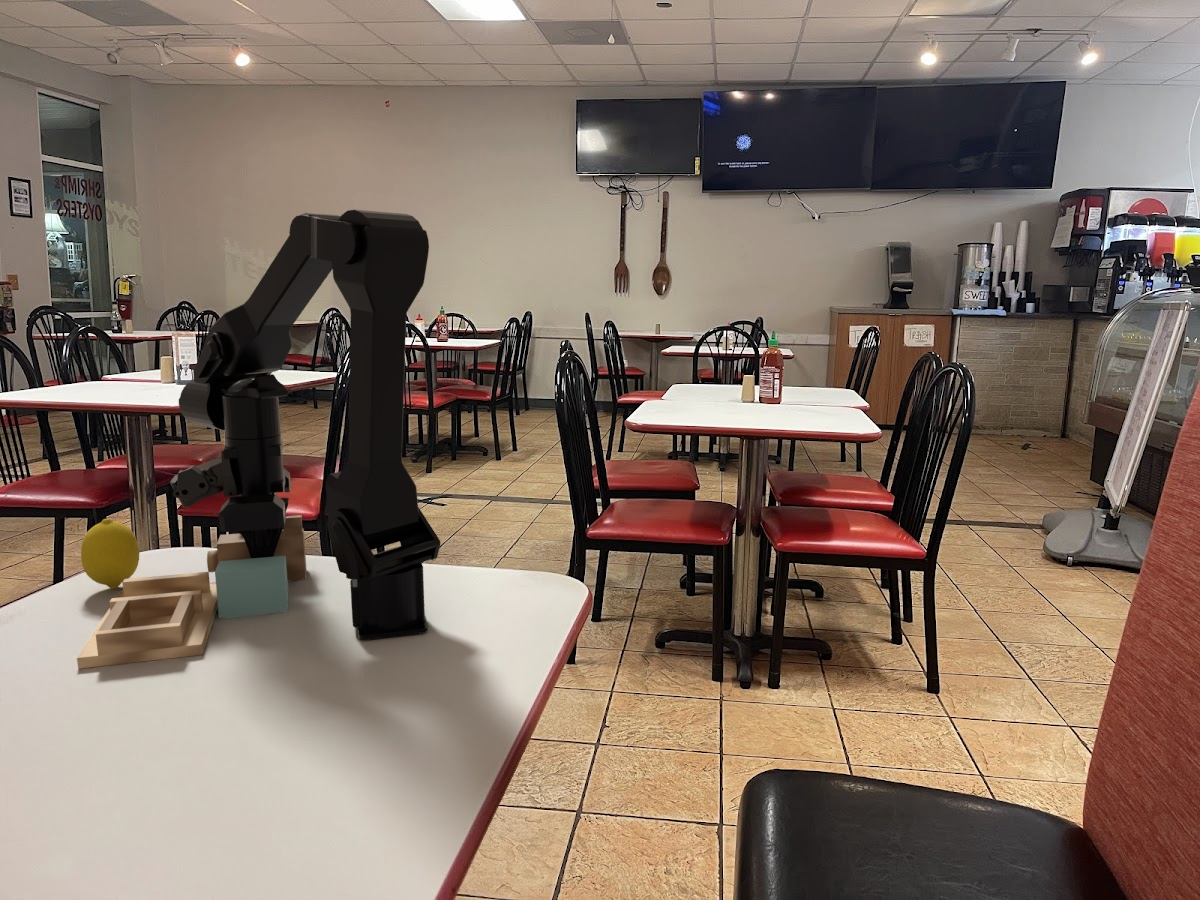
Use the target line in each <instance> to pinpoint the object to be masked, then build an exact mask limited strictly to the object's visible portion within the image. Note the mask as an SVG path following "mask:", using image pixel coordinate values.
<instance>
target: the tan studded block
mask: <svg viewBox="0 0 1200 900" xmlns="http://www.w3.org/2000/svg"><path fill="white" fill-rule="evenodd" d="M302 517H303V516H302V514H300V515H298V514H297V515H288V516H287V515H286V521H285V525H284V527H283V530H282V532H281V535H280V538H279V541H278V544H277V547H276V550H275V553H274V556H273V557H275V556H286V568H287V582H289V581H290V582H291V581H301V580H306V579H307V557H306V556H307V555H306V543H305V542H306V541H305V540H306V539H305V528H303V518H302ZM241 559H251V557H250V554H249V551H248V548H247V546H246V543H245V540H244V538H243V536H242V535H241V534H240V533H230V534H219V538H218V540H217V543H216V550H208V551H207V554H206V564H207V565H206V566H207V572H209V573H215V571H216V568H217V566H218V563H219V561H229V560H241Z"/></svg>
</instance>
